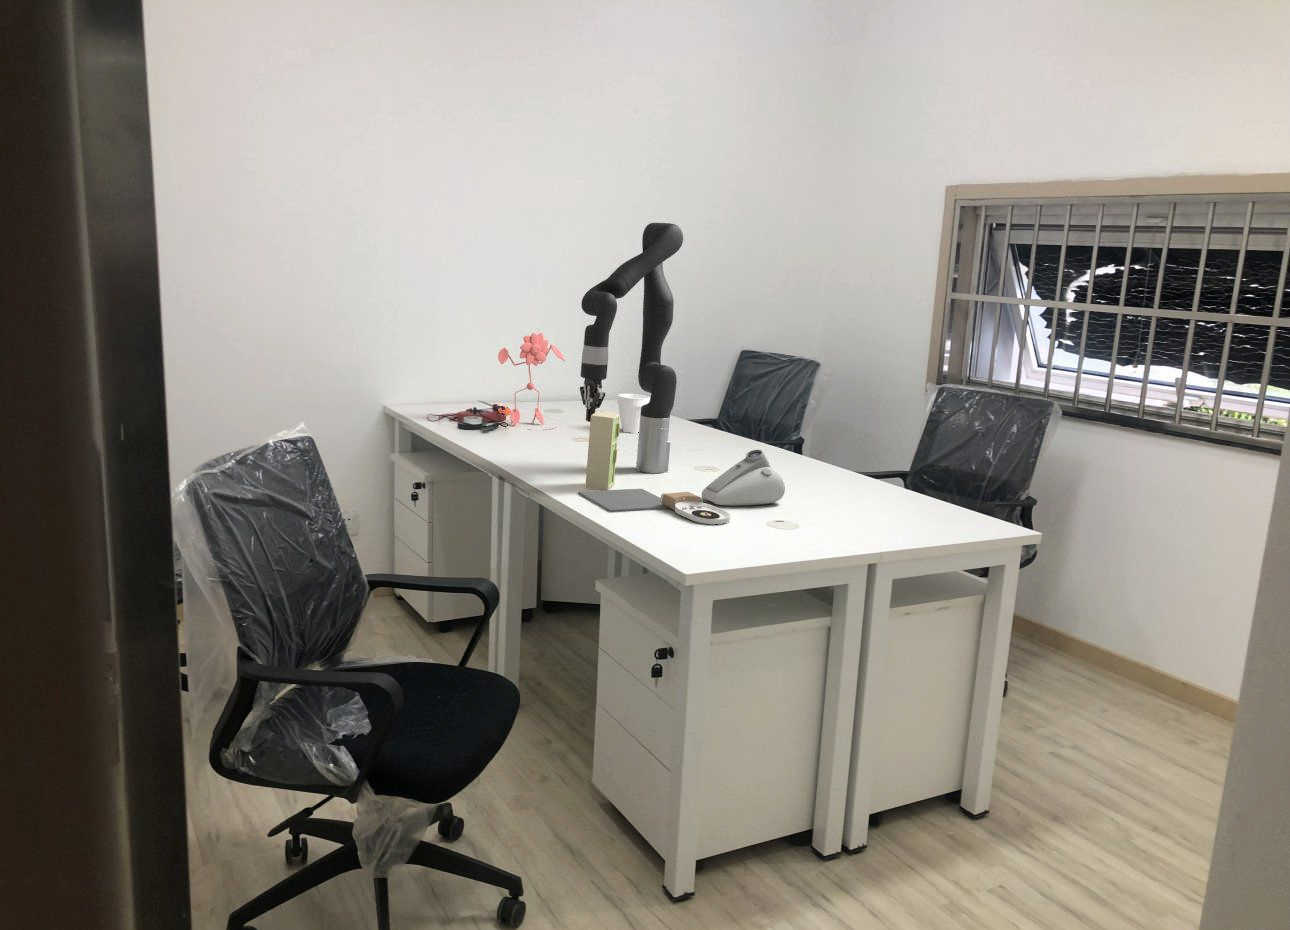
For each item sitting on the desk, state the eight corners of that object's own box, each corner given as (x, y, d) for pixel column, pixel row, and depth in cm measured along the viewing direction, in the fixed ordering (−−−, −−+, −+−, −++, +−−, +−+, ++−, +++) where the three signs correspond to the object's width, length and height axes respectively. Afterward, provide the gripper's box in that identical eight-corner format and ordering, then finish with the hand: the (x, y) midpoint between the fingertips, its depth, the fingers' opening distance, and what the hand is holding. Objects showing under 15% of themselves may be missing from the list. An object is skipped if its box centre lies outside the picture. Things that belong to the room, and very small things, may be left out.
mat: (641, 490, 284) (641, 488, 284) (676, 508, 267) (677, 506, 267) (577, 493, 274) (577, 491, 274) (610, 512, 257) (610, 509, 257)
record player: (691, 490, 272) (740, 511, 257) (689, 501, 273) (738, 523, 258) (657, 493, 265) (705, 515, 250) (656, 504, 266) (704, 527, 251)
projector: (705, 488, 294) (710, 439, 291) (783, 496, 292) (788, 447, 289) (699, 505, 273) (704, 453, 270) (783, 514, 270) (789, 462, 267)
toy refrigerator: (610, 491, 280) (615, 417, 275) (584, 488, 281) (590, 414, 277) (616, 485, 287) (622, 413, 283) (592, 482, 289) (597, 411, 284)
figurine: (489, 423, 370) (495, 329, 363) (550, 422, 385) (557, 331, 377) (508, 432, 358) (515, 334, 351) (570, 430, 373) (578, 336, 365)
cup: (647, 435, 372) (650, 399, 370) (614, 433, 372) (617, 397, 370) (647, 430, 384) (650, 395, 382) (615, 427, 384) (618, 392, 382)
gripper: (616, 365, 282) (611, 425, 285) (596, 359, 293) (591, 417, 297) (592, 364, 278) (587, 425, 282) (573, 358, 290) (568, 417, 293)
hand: (589, 421), depth 289 cm, fingers closed
